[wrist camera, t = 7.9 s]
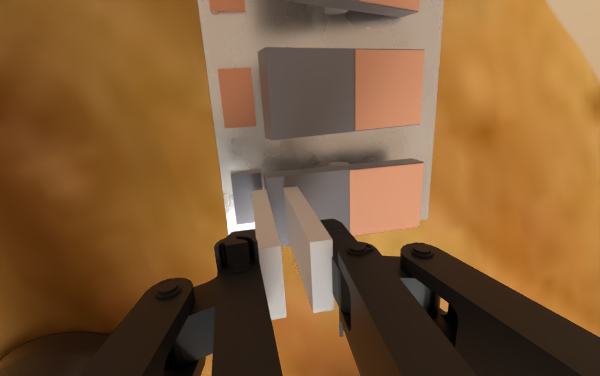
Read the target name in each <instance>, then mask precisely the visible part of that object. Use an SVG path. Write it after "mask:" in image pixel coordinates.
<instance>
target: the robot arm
mask: <svg viewBox="0 0 600 376" xmlns="http://www.w3.org/2000/svg"><path fill="white" fill-rule="evenodd" d="M283 190H284V204H285V218H286V231H287V237H288V240H289V243H290V246H291V249H292V252H293V255H294V258H295V261H296V263H297V266H298V269H299V272H300V275H301V278H302V281H303V284H304V287H305V290H306V293H307V296H308V299H309V302H310V305H311V308H312V311H313V313H317V312H323V311H329V310H334V297H335V299H336V302H337V304H338V306H339V328H340V337H342V336H343V330H344V332H345V334H346V337H347V340H348V342H349V345H350V348H351V351H352V353H353V356H354V359H355V362H356V364H357V367H358V370H359V373H360V375H361V376H600V337H598V336H596V335H595V334H593V333H591V332H589V331H587V330H585V329H584V328H582V327H580V326H578V325H576V324H575V323H573V322H571V321H569V320H567V319H566V318H564V317H562V316H560V315H558V314H556V313H555V312H553V311H551V310H549V309H547V308H546V307H544V306H542V305H540V304H538V303H537V302H535V301H533V300H531V299H529V298H527V297H526V296H524V295H522V294H520V293H518V292H517V291H515V290H513V289H511V288H509V287H508V286H506V285H504V284H502V283H500V282H498V281H497V280H495V279H493V278H491V277H489V276H488V275H486V274H484V273H482V272H480V271H478V270H477V269H475V268H473V267H471V266H469V265H468V264H466V263H464V262H462V261H460V260H459V259H457V258H455V257H453V256H451V255H449V254H448V253H446V252H444V251H442V250H440V249H439V248H436V247H434V246H432V245H428V244H425V243H412V244H407V245H405V246H403V247H402V248H401V254H400V257H396V256H382V255H381V254H380V252H379V251H378V250H377V249H376V248H375V247H374V246H373V245H370V244H368V243H364V242H357V240H356V239H355V238H354V237H353V236H352V234H351V233H350V232H349V231H348V230H347V228H346V227H345V226H344V225H343V224H342V222H340V221H338V220H336V219H334V218H333V219H325V220H319V218H318V217H317V215H316V214H315V212H314V211H313V209H312V208H311V206H310V205H309V203H308V202H307V200H306V199H305V197H304V196H303V194H302V193H301V191H300V190H299V188H298V186H295V187H285V188H283ZM252 201H253V212H254V222H255V229H249V230H241V231H232V232H231V233H230V234H229V235H228V236H227V237H226V238H224V239H222V240H220V241H219V242H217V243H216V245H215V247H214V250H215V257H216V264H217V270H218V274H217V277H216V278H214V279H213V280H211V281H209V282H207V283H204V284H202V285H199V286H196V287H193V284H192V282H191V281H190V280H188V279H186V278H173V279H167V280H164V281H161V282H159V283H157V284H156V285H154V286H152V287H151V288H150V289H149V290H147V291H146V292H145V293H144V295H143V296H142V297H141V298H140V300H139V301H138V302H137V303H136V305H135V306H134V307H133V308H132V309H131V311H130V312H129V313H128V314H127V316H126V317H125V318H124V319H123V320H122V322H121V323H120V324H119V325H118V327H117V328H116V329H115V330H114V332H113V333H112V334H111V335H110V336H108V335H104V334H98V333H87V332H71V333H61V334H54V335H49V336H45V337H41V338H38V339H35V340H32V341H30V342H27V343H25V344H23V345H21V346H19V347H17V348H16V349H14V350H12V351H11V352H9V353H8V354H7V355H5V356H4V357H3V358H2V359H1V360H0V376H201V373H202V370H203V367H204V365H205V360H206V356H207V355H210V354H212V353H213V361H212V376H282V371H281V366H280V361H279V356H278V351H277V346H276V341H275V336H274V331H273V326H272V321H271V320H274V319H280V318H285V317H286V304H285V292H284V279H283V267H282V254H281V245H280V241H279V237H278V233H277V229H276V225H275V222H274V218H273V214H272V210H271V206H270V202H269V199H268V195H267V191H266V189H263V190H254V191H252ZM440 297H441V298H443V299H444V300H445V301H447V302H448V303H449V306H448V312H447V313H446V312H445V311H443V310H442V309H440V308H439V307H440Z"/></svg>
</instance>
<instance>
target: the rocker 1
mask: <svg viewBox="0 0 600 376" xmlns="http://www.w3.org/2000/svg"><path fill="white" fill-rule="evenodd" d="M281 1H288V2H295V3H302V4H309V5H316V6H323V7H325V13H326V14H330V15H336V14H342V13H345V12H347V11H348V10H350V11H357V12H364V13H371V14H378V15H385V16H392V17H399V18H401V17H405V16H408V15H411V14H414V13H418V12H419V4H420V0H281Z"/></svg>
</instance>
